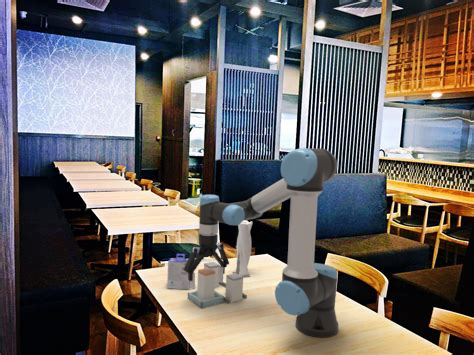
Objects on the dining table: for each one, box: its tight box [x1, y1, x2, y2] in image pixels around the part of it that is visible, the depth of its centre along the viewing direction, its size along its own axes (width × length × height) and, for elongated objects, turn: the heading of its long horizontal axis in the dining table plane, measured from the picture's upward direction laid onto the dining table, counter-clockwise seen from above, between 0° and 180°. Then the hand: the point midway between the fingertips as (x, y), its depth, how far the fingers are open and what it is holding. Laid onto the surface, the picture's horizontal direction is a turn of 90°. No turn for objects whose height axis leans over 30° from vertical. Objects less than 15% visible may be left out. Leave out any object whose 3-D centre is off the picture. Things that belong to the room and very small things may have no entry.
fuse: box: [196, 268, 216, 301], centre depth 165 cm, size 5×5×12 cm
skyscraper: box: [231, 220, 253, 278], centre depth 197 cm, size 8×8×28 cm
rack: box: [203, 261, 248, 305], centre depth 175 cm, size 22×10×10 cm, turn 37°
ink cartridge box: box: [166, 253, 191, 290], centre depth 178 cm, size 10×6×14 cm, turn 89°
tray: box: [187, 290, 225, 309], centre depth 165 cm, size 11×11×2 cm
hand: (206, 285), depth 165 cm, fingers open, 13 cm apart
